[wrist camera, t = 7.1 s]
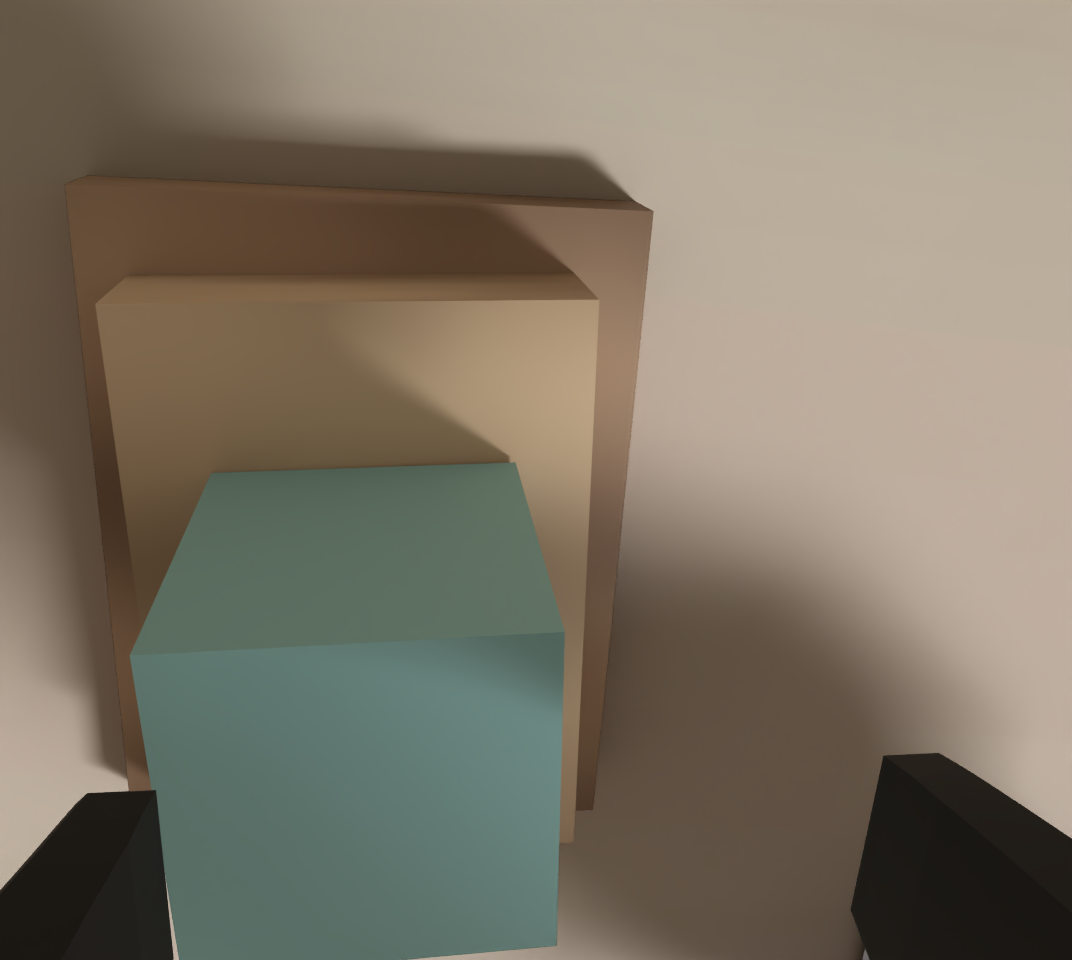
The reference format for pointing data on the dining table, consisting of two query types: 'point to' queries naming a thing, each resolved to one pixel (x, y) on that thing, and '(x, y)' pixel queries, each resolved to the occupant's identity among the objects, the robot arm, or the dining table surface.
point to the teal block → (356, 717)
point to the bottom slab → (366, 248)
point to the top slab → (358, 403)
